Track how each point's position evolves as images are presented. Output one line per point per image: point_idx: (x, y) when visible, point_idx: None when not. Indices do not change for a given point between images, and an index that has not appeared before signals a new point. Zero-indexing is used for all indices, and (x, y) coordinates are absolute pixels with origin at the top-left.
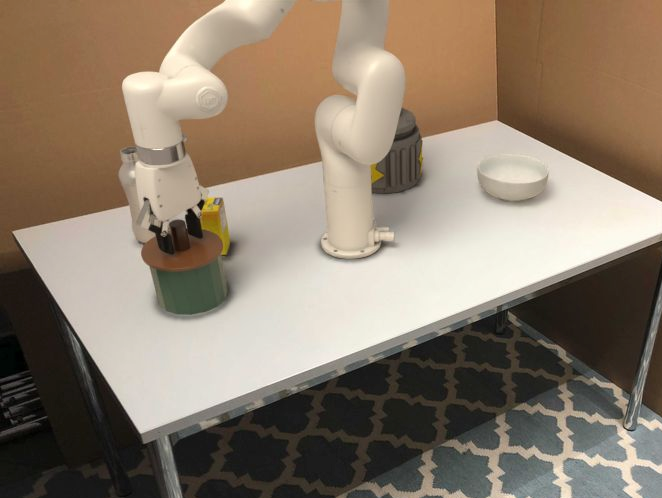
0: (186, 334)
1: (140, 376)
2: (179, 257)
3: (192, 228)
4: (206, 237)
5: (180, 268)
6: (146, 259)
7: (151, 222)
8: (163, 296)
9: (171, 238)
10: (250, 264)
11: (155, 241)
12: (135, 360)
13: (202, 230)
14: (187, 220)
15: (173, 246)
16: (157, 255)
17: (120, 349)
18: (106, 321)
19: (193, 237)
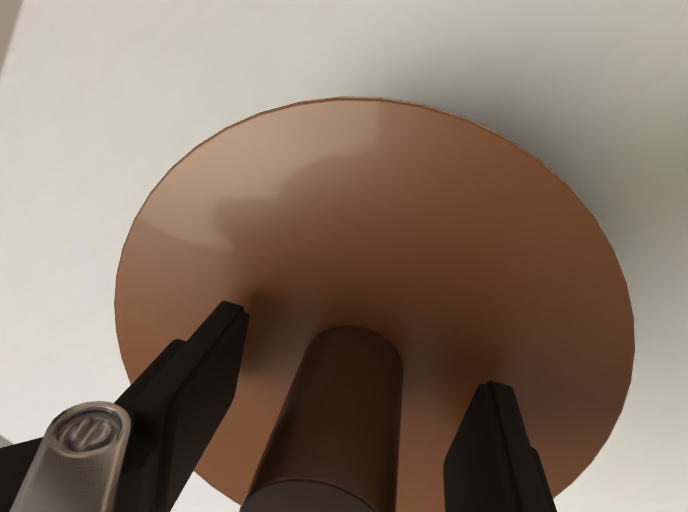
0: None
1: (7, 285)
2: (248, 399)
3: (466, 478)
4: None
5: None
6: (142, 236)
7: (17, 495)
8: None
9: (180, 488)
10: (668, 331)
11: (360, 162)
12: (41, 237)
13: (607, 394)
14: (490, 504)
15: (212, 435)
16: (209, 276)
17: (50, 164)
18: (130, 6)
19: (494, 379)
